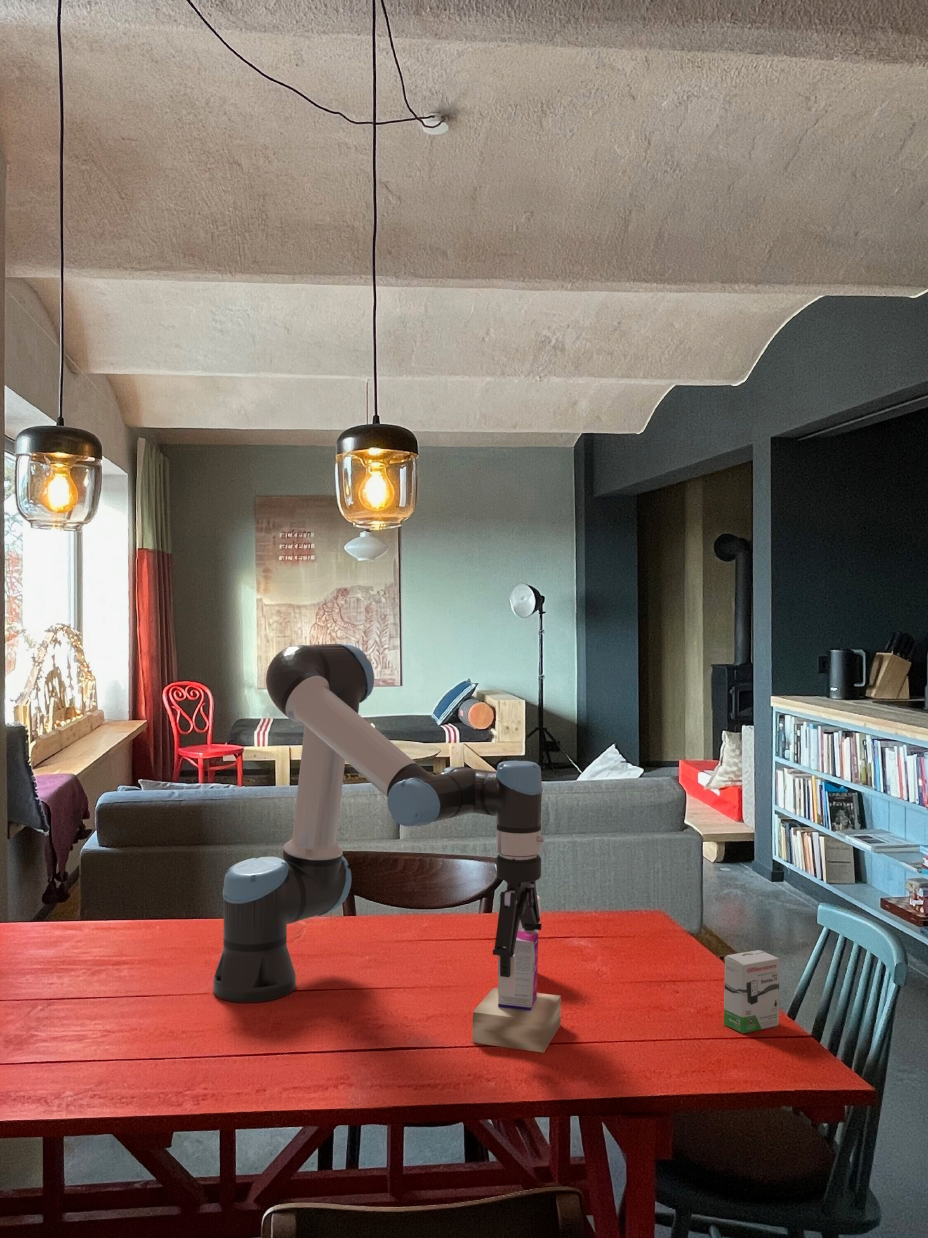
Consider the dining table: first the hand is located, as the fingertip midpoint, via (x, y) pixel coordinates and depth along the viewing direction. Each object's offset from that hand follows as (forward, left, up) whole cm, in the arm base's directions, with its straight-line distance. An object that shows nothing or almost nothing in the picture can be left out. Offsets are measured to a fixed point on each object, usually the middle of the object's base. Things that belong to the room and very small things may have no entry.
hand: (517, 981), depth 174 cm
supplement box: (0, 0, -4) cm, 4 cm away
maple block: (0, 0, -9) cm, 9 cm away
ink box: (+37, +17, -9) cm, 42 cm away
